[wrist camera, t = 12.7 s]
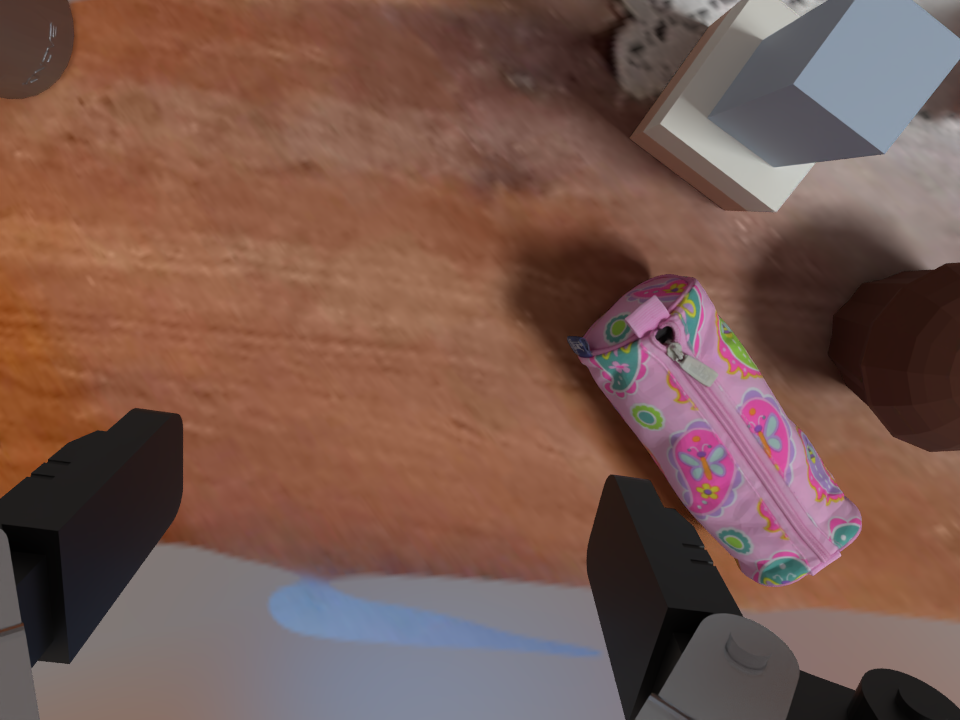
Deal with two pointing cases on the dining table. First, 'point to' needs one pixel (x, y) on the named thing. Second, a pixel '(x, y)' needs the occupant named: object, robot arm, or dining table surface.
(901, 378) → the muffin
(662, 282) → the pencil case
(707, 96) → the tower base
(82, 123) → the dining table surface
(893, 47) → the blue brick
